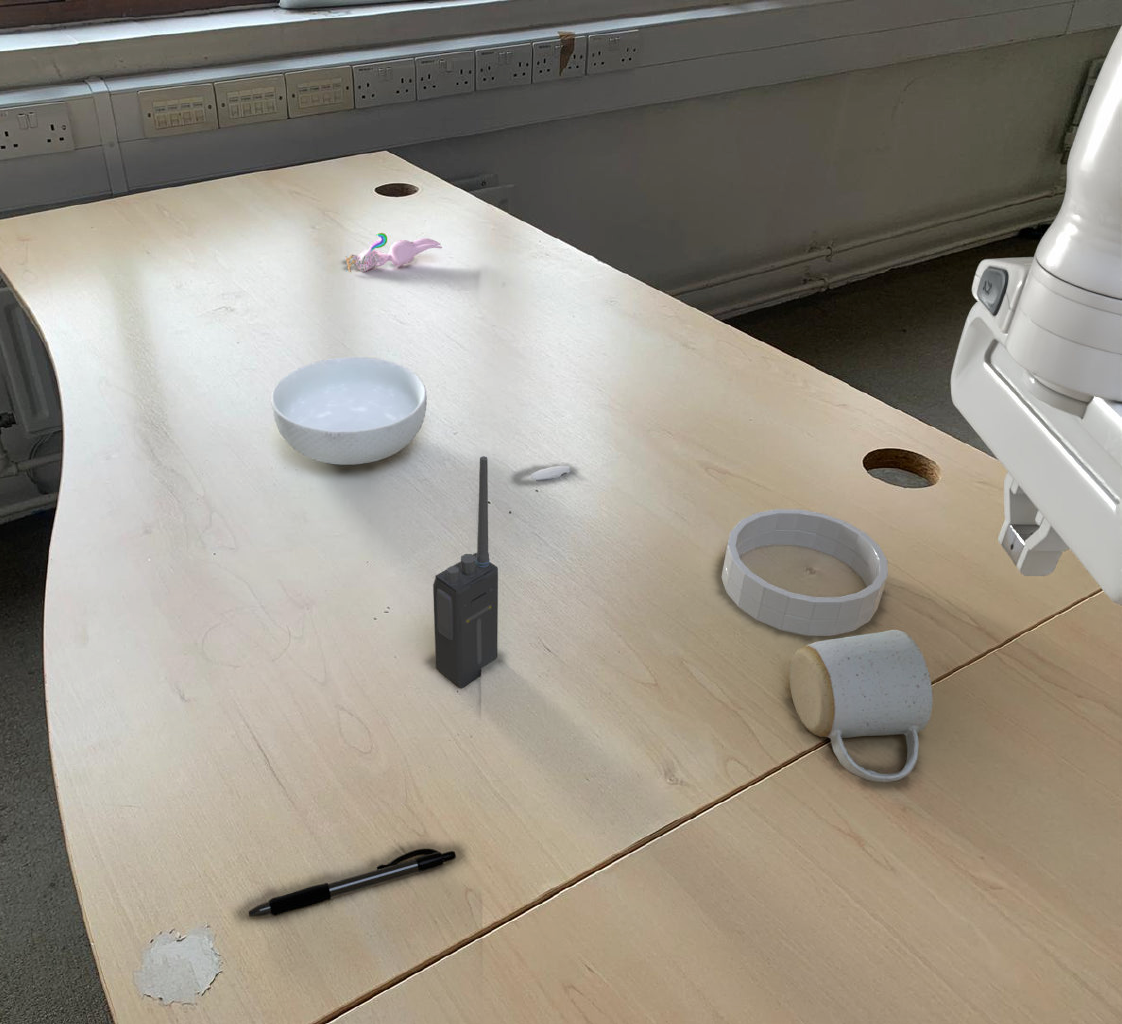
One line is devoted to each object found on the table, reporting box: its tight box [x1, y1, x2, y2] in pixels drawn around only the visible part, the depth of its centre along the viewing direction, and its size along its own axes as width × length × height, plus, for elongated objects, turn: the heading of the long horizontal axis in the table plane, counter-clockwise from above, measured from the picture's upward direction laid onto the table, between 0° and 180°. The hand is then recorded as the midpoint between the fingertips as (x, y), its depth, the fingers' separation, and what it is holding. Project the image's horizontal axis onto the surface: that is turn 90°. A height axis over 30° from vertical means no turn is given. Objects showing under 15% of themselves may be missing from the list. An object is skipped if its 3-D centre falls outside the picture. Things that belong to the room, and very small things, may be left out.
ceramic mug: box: [789, 629, 934, 783], centre depth 74 cm, size 11×8×8 cm
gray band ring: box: [721, 508, 889, 637], centre depth 89 cm, size 13×13×4 cm
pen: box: [248, 848, 457, 918], centre depth 66 cm, size 14×2×1 cm, turn 108°
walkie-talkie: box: [432, 456, 499, 689], centre depth 77 cm, size 5×3×20 cm
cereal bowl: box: [270, 356, 428, 466], centre depth 110 cm, size 17×17×7 cm
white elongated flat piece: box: [529, 464, 571, 482], centre depth 105 cm, size 6×2×1 cm, turn 105°
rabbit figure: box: [345, 232, 443, 274], centre depth 154 cm, size 6×6×15 cm
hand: (1022, 559), depth 55 cm, fingers closed
